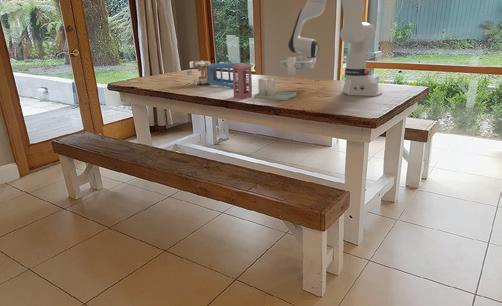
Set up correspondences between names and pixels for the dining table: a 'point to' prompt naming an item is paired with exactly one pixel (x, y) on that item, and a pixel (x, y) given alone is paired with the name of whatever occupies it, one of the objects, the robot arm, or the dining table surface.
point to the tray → (277, 95)
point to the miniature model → (242, 80)
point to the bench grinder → (212, 73)
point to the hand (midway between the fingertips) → (290, 66)
